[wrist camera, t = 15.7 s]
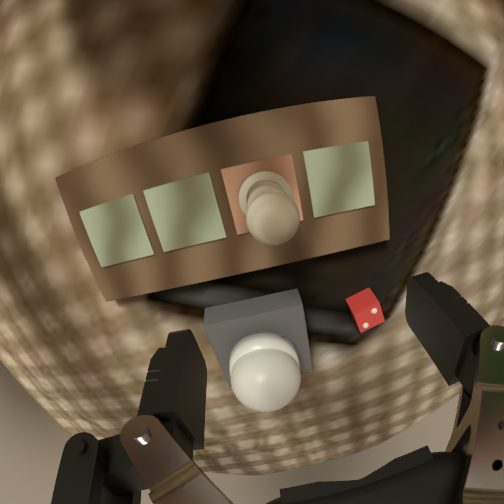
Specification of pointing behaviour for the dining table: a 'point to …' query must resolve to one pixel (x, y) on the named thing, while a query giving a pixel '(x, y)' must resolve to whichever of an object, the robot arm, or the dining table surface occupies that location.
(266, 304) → the dome housing
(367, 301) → the red die
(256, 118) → the game board
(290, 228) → the pawn
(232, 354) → the dome
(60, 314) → the dining table surface
